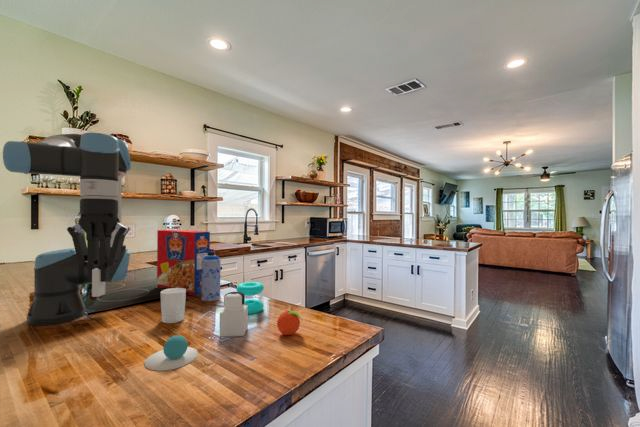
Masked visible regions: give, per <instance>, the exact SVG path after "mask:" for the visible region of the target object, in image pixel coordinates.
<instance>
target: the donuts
mask: <svg viewBox="0 0 640 427" xmlns="http://www.w3.org/2000/svg"><path fill="white" fill-rule="evenodd" d="M264 289H265V287H264V284H263V283H261V282H258V281H245V282H242V283H239V284H237V286H236V292H242V293H244V295H245V296H247V297H249V296H255V295H256V296H257V295H260V294H261V293H262V292H263V291H264ZM244 305H247V306H248V315H251V314H252V315H253V314H257V313H260V312H261V311H262V310H263V309H264V306H265V305H264V303H263V302H262V300H260V299H257V298H247V299H244Z"/></svg>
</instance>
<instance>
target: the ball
mask: <svg viewBox="0 0 640 427" xmlns="http://www.w3.org/2000/svg"><path fill="white" fill-rule="evenodd" d="M188 344H189V343H188V340H187V339H186V338H185V336H183V335H178V334H175V335H173V336H171V337H169V338H168V339H167V340H166V341H165V342H164V344H163V349H162V350H163V351H164V354H165V356H166V357H168V358H169V359H177V358H180V357H181V356H183V355H184V354H185V352H186V350H187V347H189V345H188Z"/></svg>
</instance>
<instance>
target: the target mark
mask: <svg viewBox="0 0 640 427" xmlns="http://www.w3.org/2000/svg"><path fill="white" fill-rule="evenodd" d="M198 356H199V352H198V350H197V349H196V348H193V347H192V346H191V347H190V346H188V347H187V350H186V352H185V354H184V355H183V356H181V357H180V358H177V359H169V358H168V357H166V356H165V354H164V351H163V349H161V350H159V351H156V352H154V353H152V354H151V355H149V356H148V357H146V358H145V361H144V366H145V368H146V369H148V370H151V371H159V372H160V371H163V372H164V371H171V370H175V369H179V368H182V367H184V366H187V365H189V364H191V363H192V362H193V361H196V359H197V358H198Z"/></svg>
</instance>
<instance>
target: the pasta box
mask: <svg viewBox="0 0 640 427" xmlns="http://www.w3.org/2000/svg"><path fill="white" fill-rule="evenodd" d="M156 238H157V239H156V240H157V241H156V242H157V243H156V244H157V247H156V248H157V249H156V250H157V251H156V253H157V255H156V258H157V259H156V261H157V262H156V268H157V269H156V288H158V287H162V288H167V289H170V288H184V289H186V293H188V294H187V295H190V296H194V297H195V296H198V295H202V259H203V258H204V257H205V256H207V255H208V254H209V252H211V251H210V247H211V246H210V243H211V242H210V241H211V240H210V238H211V232H210V231H205V230H204V231H202V230H187V229H186V230H184V229H159V230H157V237H156ZM162 288H161V289H162Z"/></svg>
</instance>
